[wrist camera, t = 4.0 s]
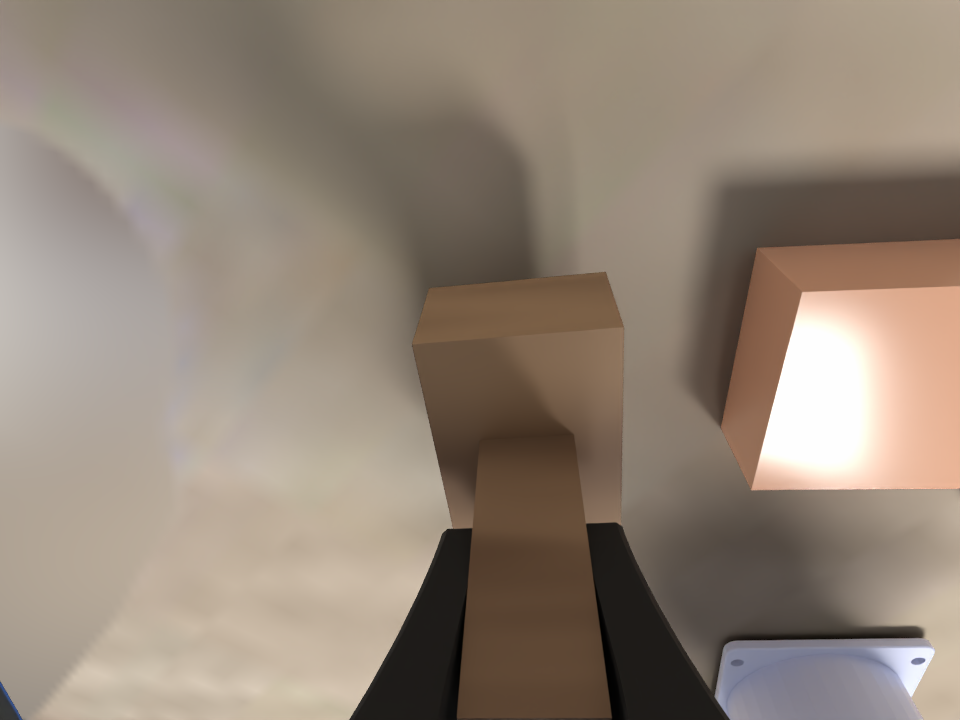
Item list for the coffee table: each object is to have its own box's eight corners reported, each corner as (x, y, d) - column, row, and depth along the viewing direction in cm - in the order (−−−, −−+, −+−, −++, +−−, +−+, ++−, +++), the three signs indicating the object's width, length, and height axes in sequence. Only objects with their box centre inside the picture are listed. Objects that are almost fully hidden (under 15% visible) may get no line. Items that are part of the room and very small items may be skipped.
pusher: (606, 518, 17) (669, 870, 10) (474, 524, 17) (447, 863, 10) (605, 272, 12) (713, 595, 6) (429, 288, 13) (332, 605, 6)
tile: (916, 418, 17) (984, 488, 15) (718, 422, 18) (751, 490, 15) (997, 233, 14) (1100, 280, 12) (753, 244, 15) (802, 291, 12)
